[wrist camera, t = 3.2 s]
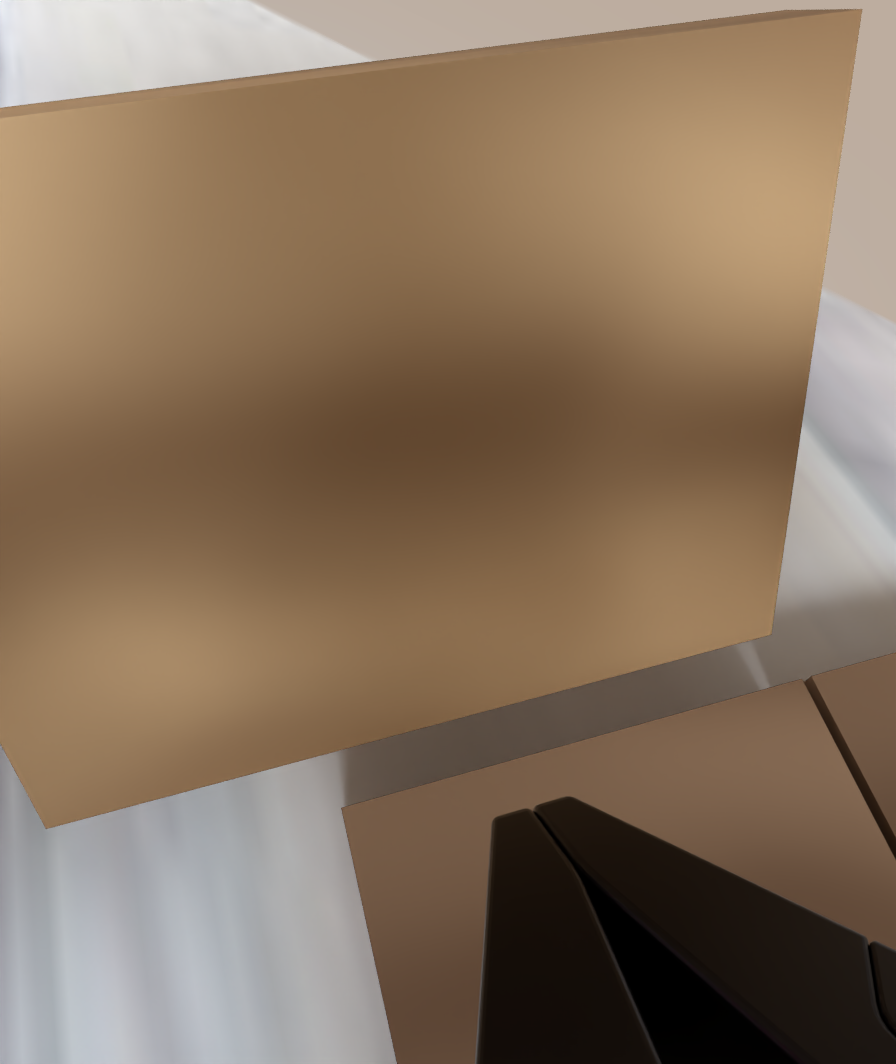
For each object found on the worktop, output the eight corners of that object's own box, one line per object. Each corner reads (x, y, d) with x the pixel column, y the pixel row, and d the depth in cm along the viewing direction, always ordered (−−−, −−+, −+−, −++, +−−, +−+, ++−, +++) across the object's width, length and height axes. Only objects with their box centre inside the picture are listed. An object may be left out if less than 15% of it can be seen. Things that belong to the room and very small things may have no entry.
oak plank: (725, 587, 17) (771, 634, 16) (57, 757, 15) (46, 828, 14) (786, 9, 12) (862, 8, 10) (-246, 138, 10) (-313, 158, 8)
